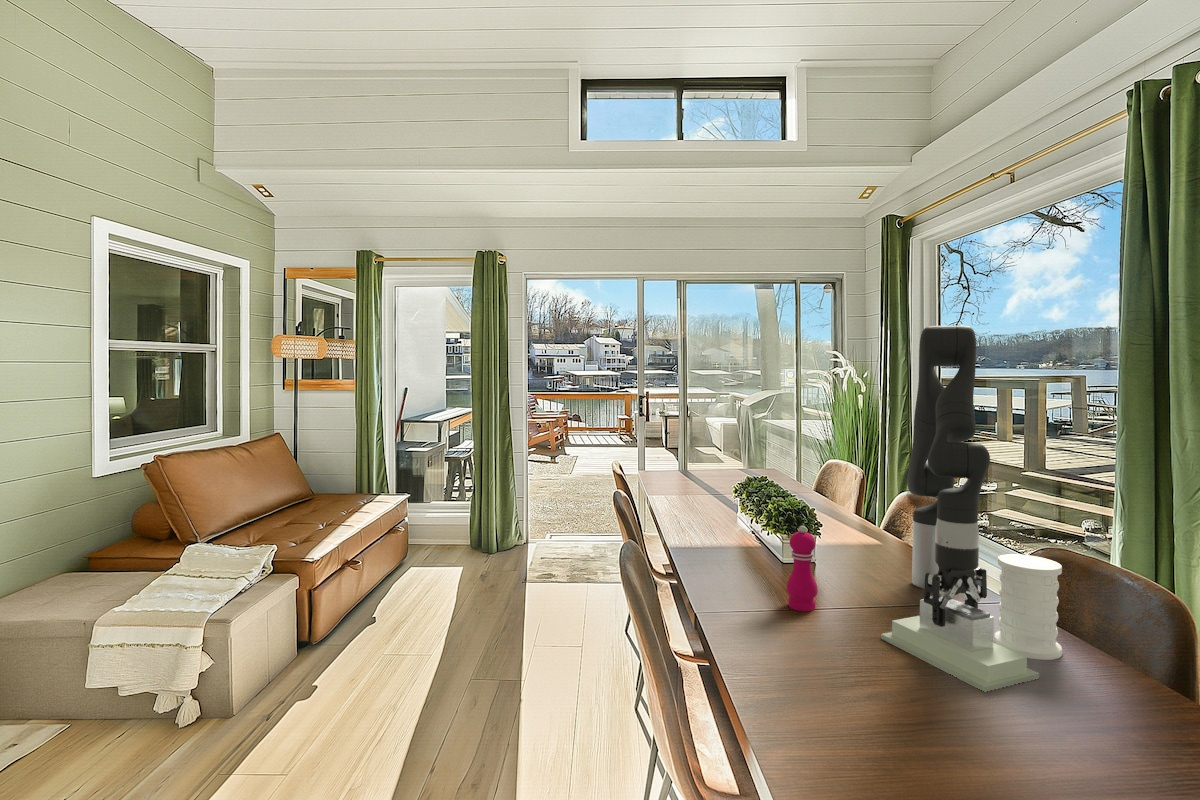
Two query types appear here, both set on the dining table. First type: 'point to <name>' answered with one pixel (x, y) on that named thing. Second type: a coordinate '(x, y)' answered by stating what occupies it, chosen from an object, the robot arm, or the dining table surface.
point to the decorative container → (1029, 606)
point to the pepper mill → (802, 572)
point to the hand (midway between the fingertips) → (955, 622)
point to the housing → (960, 625)
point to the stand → (961, 657)
